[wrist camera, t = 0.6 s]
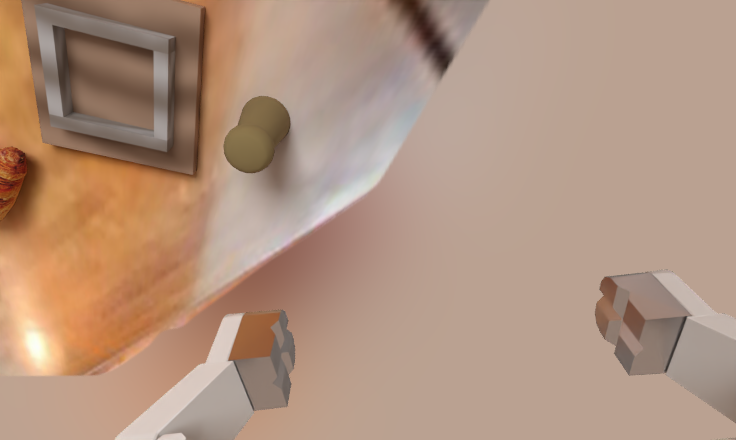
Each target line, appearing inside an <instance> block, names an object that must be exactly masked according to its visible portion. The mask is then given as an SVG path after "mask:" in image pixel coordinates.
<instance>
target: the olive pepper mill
mask: <svg viewBox="0 0 736 440" xmlns="http://www.w3.org/2000/svg"><path fill="white" fill-rule="evenodd" d="M289 128H290V117H289V114H288V111H287V110H286V108H285V107H284V106H283V104H281V103H280V102H279V101H277V100H276V99H273V98H271V97H268V96H259V97H255V98H252V99H251V100H250V101H248V102H247V103H246V105H245V106H244V108H243V110H242V113H241V116H240V120H239V123H238V126H236V127H235V128H233V129H232V130H230V132H229V133H228V135H227V136H226V138H225V141H224V154H225V156H226V158H227V160H228V162H229V163H230V164H231V165H232V166H233V167H234V168H236V169H238V170H239V171H242V172H245V173H256V172H260V171H262V170H263V169H265V168H266V167H268V165H269V164H270V163H271V161H272V159H273V156H274V152H275V151H274V148H275V147H276V146H277V145H278V144H279V142H280V141H281V140H282V139H283V138H284V137H285V136H286V134H287V133H288V131H289Z"/></svg>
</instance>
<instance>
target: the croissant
mask: <svg viewBox="0 0 736 440" xmlns="http://www.w3.org/2000/svg"><path fill="white" fill-rule="evenodd" d="M26 173H27V162H26V157H25V153H23V152H22V151H21V150H19V149H17V148H14V147H7V148H4V149H0V221H1V220H2V219H3V218H4V217H5V216H6V214H7V213H8V211H9V210H10V209H11V208H12V206H13V205H14V203H15V201H16V199H17V197H18V194H19V191H20V189H21V186H22V183H23V180H24V176H25V175H26Z"/></svg>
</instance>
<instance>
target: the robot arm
mask: <svg viewBox="0 0 736 440" xmlns="http://www.w3.org/2000/svg"><path fill="white" fill-rule="evenodd" d="M600 291H601V292H602V293H603V295H604V296H603V297H602V298H601V299H600V300H599V301H598V302H597V304H596V309H595V316H596V323H597V326H598V328H599V331H600V333H601V334H602V336H603V337H604V339H605V340H607V341H608V342H610V343H612V344H614V345H615V346H616V348H615V353H614V354H615V355H616V357H617V358H618V360H619V361H620V363H621V364H622V366H623V367H624V369H625V370H626V372H627V373H628V375H629V376H630V375H645V374H660V373H666V375H667V376H668V377H670V378H671V379H672V380H674V381H675V382H677V383H678V384H680V385H681V386H683V387H684V388H685V389H687V390H688V391H690V392H691V393H693V394H694V395H696V396H697V397H699V398H700V399H701V400H703V401H704V402H706V403H707V404H709V405H710V406H712V407H713V408H714V409H716V410H717V411H719V412H721V413H722V414H723V415H725V416H726V417H728V418H729V419H730V420H732V421H733V422H735V423H736V318H733V317H731V316H729V315H726V314H717V313H716V312H715V311H713V309H711V308H710V307H709V306H708V305H707V304H706V303H705V302H704V301H703V300H702V299H701V298H700V297H699V296H698V295H697V294H696V293H695V292H694V291H693V290H692V289H691V288H689V287H688V286H687V285H686V284H685V283H684V282H683V281H682V280H681V279H680V278H679V277H678V276H677V275H676V274H675V273H674V272H672V271H670V270H659V271H650V272H645V273H635V274H626V275H617V276H608V277H604V279H603V280H602V281H601V285H600ZM287 324H288V318H287V315H286V313H285V311H284V310H272V311H259V312H246V313H238V314H227V315H226V316H225V317H224V318H223V320H222V322H221V325H220V327H219V330H218V332H217V335H216V338H215V340H214V343H213V345H212V348H211V350H210V353H209V355H208V358H207V361H206V363H205V364H199V365H198V366H197V367H196V368H195V369H194V370H192V371H191V372H190V373H189V374H188V375H187V376H185V377H184V378H183V379H182V380H181V381H180V382H179V383H177V384H176V385H175V386H174V387H173V388H172V389H171V390H169V391H168V392H167V393H166V394H165V395H164V396H163V397H161V398H160V399H159V400H158V401H157V402H156V403H155V404H153V405H152V406H151V407H150V408H149V409H148V410H146V411H145V412H144V413H143V414H142V415H141V416H140V417H138V418H137V419H136V420H135V421H134V422H133V423H132V424H130V425H129V426H128V427H127V428H126V429H125V430H124V431H122V432H121V433H120V434H119V435H118V436H117V437H116V438H115V440H234V439H235V437H236V436H237V435H238V433H239V432H240V431H241V429H242V428H243V426H244V425H245V424H246V423H247V422H248V420H249V419H250V417H251V416H252V415H253V413H254V411H256V410H265V409H273V408H281V407H287V406H288V400H289V394H290V388H291V382H290V378H289V374H290V373H291V371H292V370H293V369H294V363H295V345H294V339H293V336H292V333H291V332H290V331H288V330H287ZM717 440H718V439H717ZM719 440H736V438H729V439H719Z"/></svg>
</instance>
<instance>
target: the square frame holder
mask: <svg viewBox="0 0 736 440" xmlns="http://www.w3.org/2000/svg"><path fill="white" fill-rule="evenodd" d="M21 1H22V8H23V15H24V21H25V28H26V35H27V41H28V48H29V55H30V61H31V68H32V75H33V81H34V88H35V95H36V101H37V108H38V114H39V121H40V128H41V134H42V141H43V143H47V144H51V145H56V146H61V147H65V148H70V149H75V150H79V151H84V152H88V153H93V154H98V155H102V156H107V157H112V158H116V159H121V160H126V161H130V162H135V163H139V164H144V165H149V166H153V167H158V168H163V169H167V170H172V171H177V172H181V173H186V174H191V175H193V174H194V173H195V172H196V170H197V153H198V134H199V115H200V96H201V77H202V58H203V39H204V19H205V7H203V6H200V5H196V4H192V3H189V2H185V1H181V0H21Z"/></svg>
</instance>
